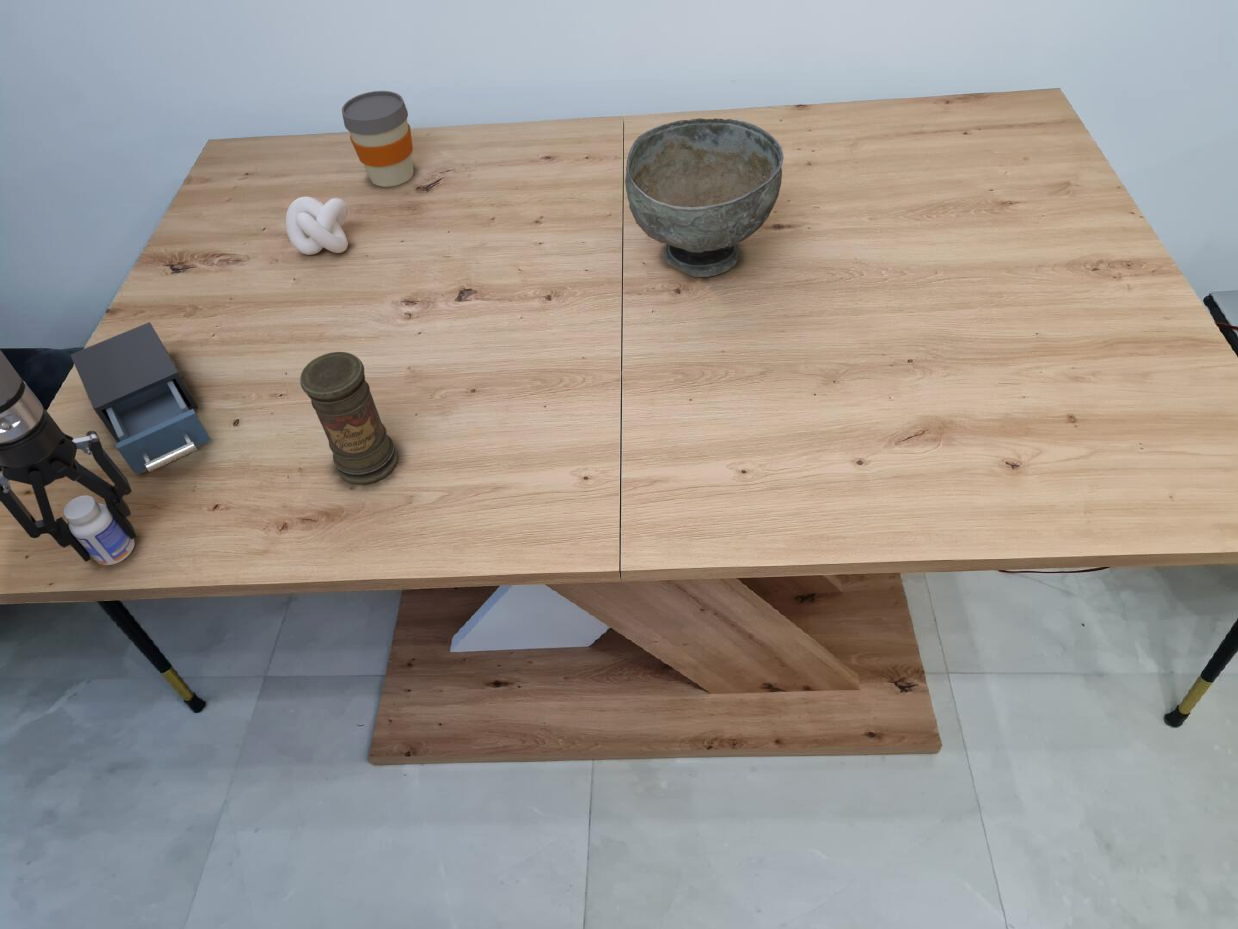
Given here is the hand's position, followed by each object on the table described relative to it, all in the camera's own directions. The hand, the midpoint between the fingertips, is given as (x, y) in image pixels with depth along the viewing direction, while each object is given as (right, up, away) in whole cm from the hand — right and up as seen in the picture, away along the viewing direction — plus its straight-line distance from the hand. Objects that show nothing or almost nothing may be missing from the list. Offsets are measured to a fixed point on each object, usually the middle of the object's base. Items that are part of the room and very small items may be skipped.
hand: (108, 542), depth 123 cm
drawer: (0, +15, +14) cm, 20 cm away
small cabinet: (-7, +21, +22) cm, 31 cm away
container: (+33, +11, +9) cm, 36 cm away
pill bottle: (0, -1, +1) cm, 2 cm away
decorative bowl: (+85, +47, +38) cm, 104 cm away
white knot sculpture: (+15, +51, +47) cm, 71 cm away
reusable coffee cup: (+23, +71, +64) cm, 98 cm away
